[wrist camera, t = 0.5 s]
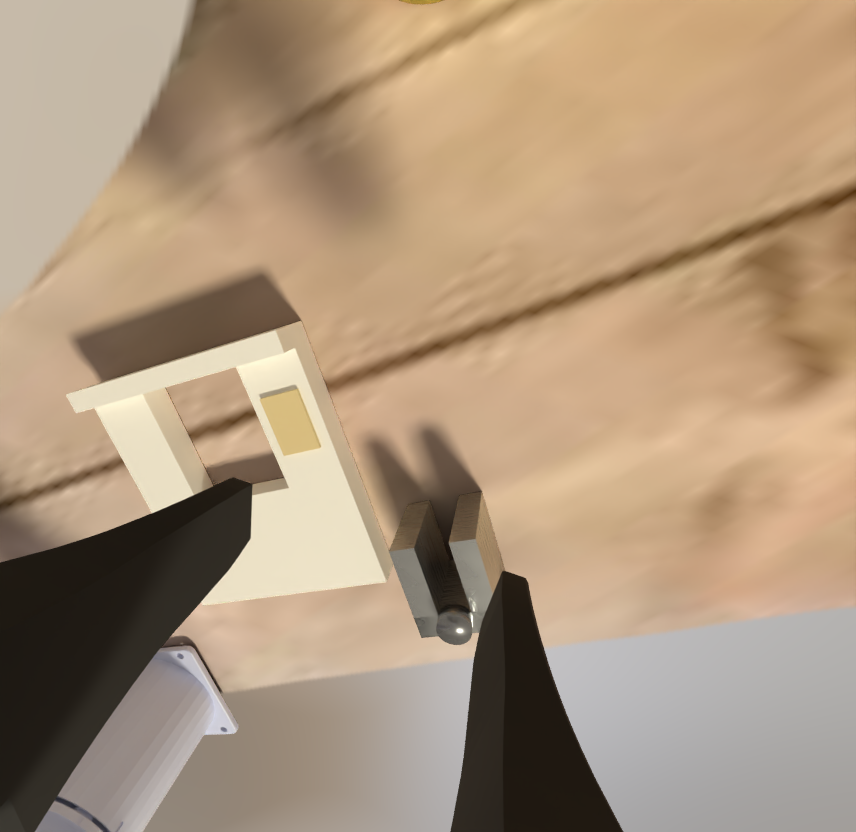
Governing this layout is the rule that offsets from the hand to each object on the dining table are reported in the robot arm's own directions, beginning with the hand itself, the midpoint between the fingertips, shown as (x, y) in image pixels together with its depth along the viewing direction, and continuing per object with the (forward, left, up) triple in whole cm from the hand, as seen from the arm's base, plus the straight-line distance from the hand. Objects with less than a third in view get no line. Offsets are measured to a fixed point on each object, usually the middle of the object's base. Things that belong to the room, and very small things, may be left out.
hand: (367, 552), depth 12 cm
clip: (-1, -7, -10) cm, 12 cm away
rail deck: (-11, -1, -10) cm, 15 cm away
